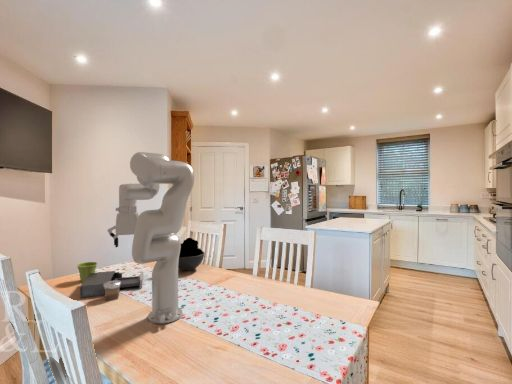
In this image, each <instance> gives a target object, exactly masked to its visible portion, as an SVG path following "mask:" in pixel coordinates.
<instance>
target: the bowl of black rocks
mask: <svg viewBox="0 0 512 384" xmlns="http://www.w3.org/2000/svg"><path fill="white" fill-rule="evenodd" d="M180 243H181V249H180V254H179V261H178V270H180V271H185V272H186V271H188V272H189V271H193V270H195V269H196V268H198V267H199V266H200V265H201V264H202V262H203V260H204V258H205V257H204V256H205V251H203V250H202V249H201V248H200V247H199V241H198V240H197V239H194V238H192V237H187V238H186V239H184V240H183V242H180Z"/></svg>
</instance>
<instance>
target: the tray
mask: <svg viewBox="0 0 512 384" xmlns="http://www.w3.org/2000/svg"><path fill="white" fill-rule="evenodd" d="M114 280H118V281H121V286H120V287H119V289H120V288H128V287H129V288H130V287H137V286H138V287H139V289H143V286H144V285H143V283H144V272H143V271H141V272H140V275H137V276H128V277H127V276H125V277H122V278H115V279H114Z"/></svg>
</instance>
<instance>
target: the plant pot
mask: <svg viewBox="0 0 512 384" xmlns="http://www.w3.org/2000/svg"><path fill="white" fill-rule="evenodd" d="M97 265H99V264H98V262H96V261H87V262H83V263H82V262H81V263H79V264H77V265H76V267H77V269H78V271H79V272H78V274H79V278H80V282H82V283H83V282H84V281H85V279H86V278H87V277H88V275H89V274H90V273H96V268H97Z"/></svg>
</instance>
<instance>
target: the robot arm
mask: <svg viewBox="0 0 512 384" xmlns="http://www.w3.org/2000/svg"><path fill="white" fill-rule="evenodd" d="M129 167H130V171H131V172H132V174H133V175H134V176H136V179H137V181H138V182H139V183H124V184H123V183H122V184H120V185H119V186H118V207H115V212H118V213H116V218H115V225H114V226H112V227H110V228H108V229H107V232H108V234H109V236H110V237H112V238H113V244H114V245H113V246H115V248H118V247H119V238H118V237H119V236H130V235H133V240H132V244H131V245H132V246H131V256H132V260H133V261H134V262H135V263H136V264H138V265H139V264H140V265H144V264H149V263H155V264H154V266H153V268H152V272H151V296H152V297H151V298H152V299H151V301H152V302H151V304H152V305H151V309H152V310H151V311H150V312H149V313H148V315H147V320H148V321H149V322H150V323H153V324H158V325H159V324H161V325H162V324H170V323H172V322H175V321H177V320H178V319H180V318H182V316H183V310H182V308H180V307H179V269H178V261H179V254H180V249H181V243H182V242H181V239H180V238H179V236H177V235H175V234H177V233H178V232H179V231H180V230H181V228H182V225H183V220H184V216H185V211H186V207H187V203H188V199H189V197H190V195H191V193H192V190H193V187H194V183H195V174H194V173H195V172H194V169H193V167H192V166H191V164H189V163H187V162H184V161H180V160H170V158H169V157H167V156H166V155H164V154H163V153H157V152H145V151H138V152H136V153H134V154H133V155H132V156H131V159H130V161H129ZM163 184H164V185H170V184H171V185H172V184H173V185H172V186H171V187H170V188H169V189H168V190H166V192H165V193H164V195H163V197H162V201H161V206H160V207H159V208H158V209H149V210H144V211H141V212H140V214H139V212H137V208H138V206H137V201H146V200H147V201H148V200H151V199H153V198H155V196H157V195H158V193H159V192H160V191H159V190H160V185H163ZM113 230H115V233H114V232H113Z"/></svg>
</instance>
